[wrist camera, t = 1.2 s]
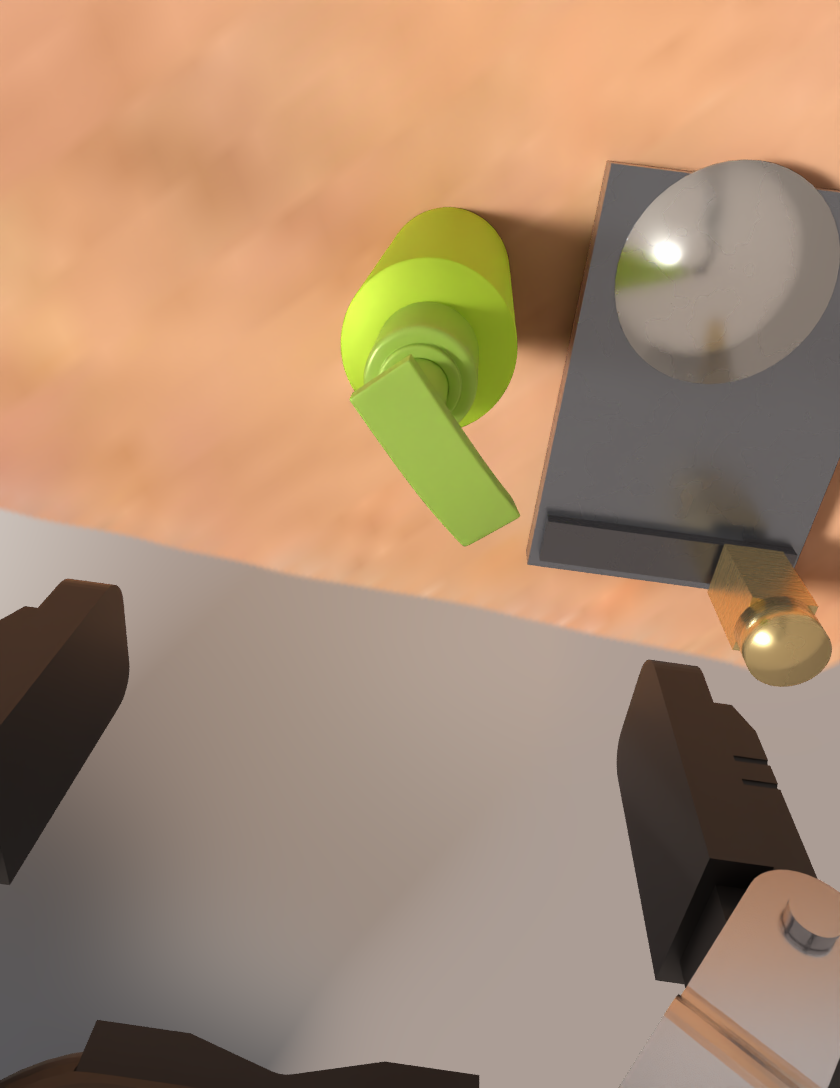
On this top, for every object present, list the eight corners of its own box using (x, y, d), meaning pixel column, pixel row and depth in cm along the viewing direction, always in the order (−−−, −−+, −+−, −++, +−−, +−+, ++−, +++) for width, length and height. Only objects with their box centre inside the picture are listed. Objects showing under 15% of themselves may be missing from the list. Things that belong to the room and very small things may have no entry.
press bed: (611, 140, 34) (618, 142, 32) (934, 181, 34) (961, 186, 32) (526, 550, 44) (527, 572, 42) (773, 584, 44) (786, 607, 42)
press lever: (720, 537, 40) (761, 616, 34) (791, 547, 40) (844, 627, 34) (700, 596, 42) (735, 680, 36) (767, 605, 42) (814, 691, 36)
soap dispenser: (442, 375, 40) (405, 589, 22) (361, 256, 37) (248, 394, 20) (543, 309, 38) (588, 488, 20) (465, 179, 35) (440, 257, 18)
